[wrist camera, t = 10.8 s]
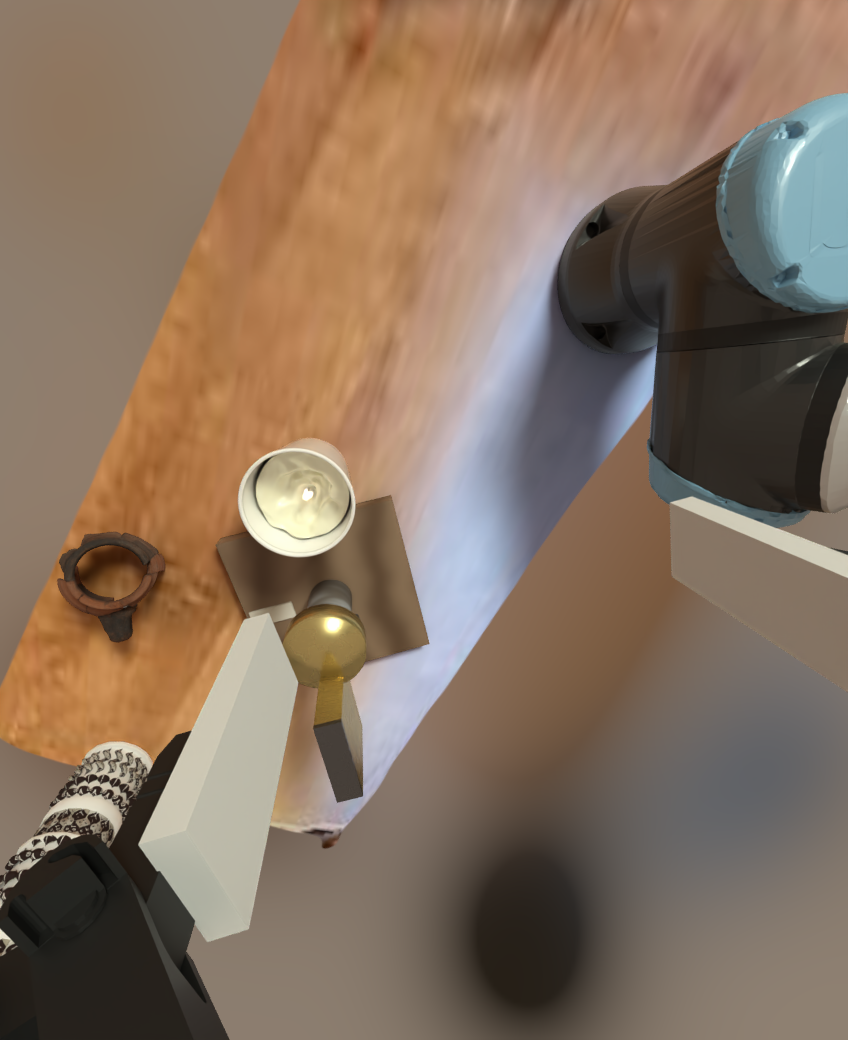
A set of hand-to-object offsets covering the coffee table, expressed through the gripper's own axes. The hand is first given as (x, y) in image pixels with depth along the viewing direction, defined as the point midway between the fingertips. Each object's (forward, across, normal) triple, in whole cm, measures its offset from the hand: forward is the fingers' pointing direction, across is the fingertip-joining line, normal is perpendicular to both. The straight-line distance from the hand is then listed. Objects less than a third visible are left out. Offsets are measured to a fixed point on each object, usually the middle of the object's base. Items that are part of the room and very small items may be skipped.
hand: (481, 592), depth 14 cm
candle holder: (+37, -10, -2) cm, 38 cm away
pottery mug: (+37, -34, -8) cm, 50 cm away
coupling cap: (+26, -13, -20) cm, 36 cm away
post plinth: (+36, -12, -16) cm, 42 cm away
